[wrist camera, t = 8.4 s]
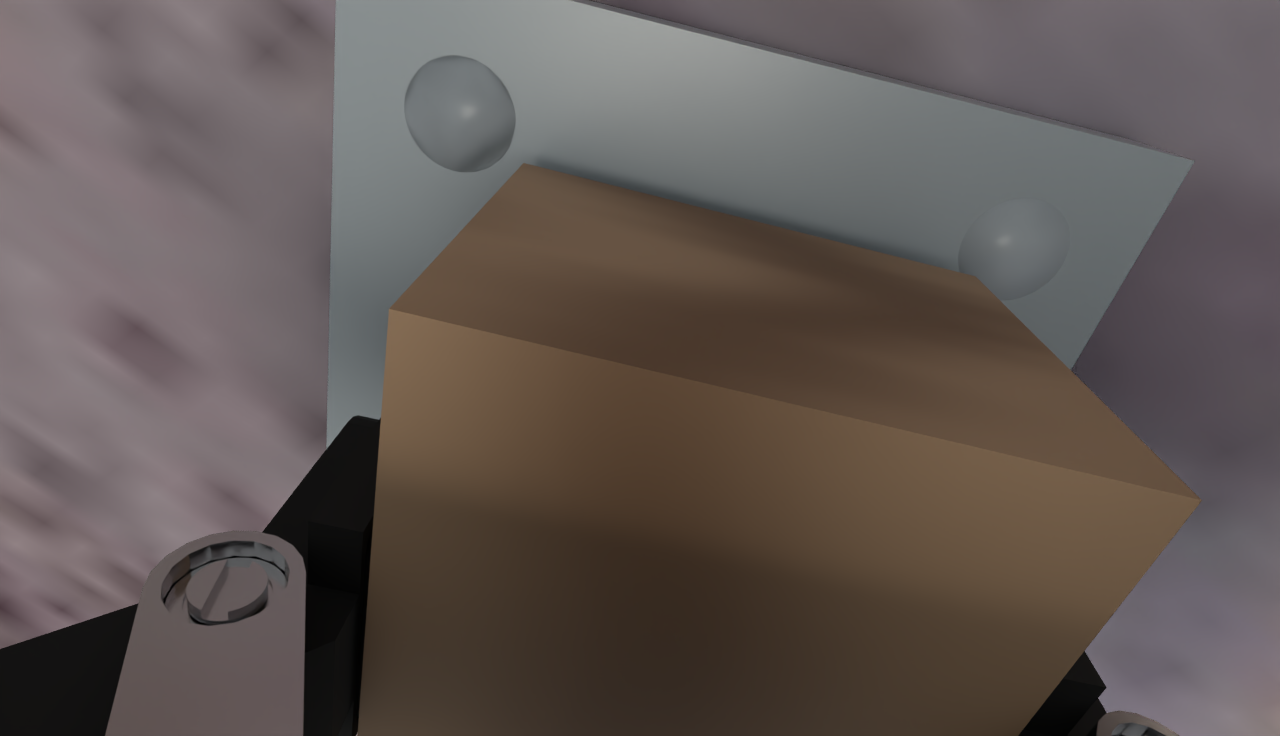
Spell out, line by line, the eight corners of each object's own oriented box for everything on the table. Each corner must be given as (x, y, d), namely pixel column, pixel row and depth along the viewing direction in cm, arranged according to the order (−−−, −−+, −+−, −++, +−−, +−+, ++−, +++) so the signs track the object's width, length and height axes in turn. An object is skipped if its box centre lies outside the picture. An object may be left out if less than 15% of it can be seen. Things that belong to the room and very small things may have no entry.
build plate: (1135, 140, 11) (1194, 160, 10) (857, 648, 17) (872, 704, 16) (379, -54, 11) (337, -61, 9) (352, 545, 16) (323, 594, 15)
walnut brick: (976, 275, 10) (1201, 500, 6) (789, 653, 14) (838, 965, 9) (523, 162, 10) (389, 308, 5) (458, 582, 13) (347, 873, 9)
